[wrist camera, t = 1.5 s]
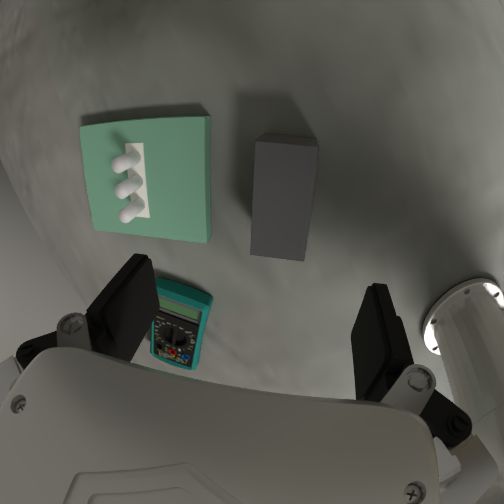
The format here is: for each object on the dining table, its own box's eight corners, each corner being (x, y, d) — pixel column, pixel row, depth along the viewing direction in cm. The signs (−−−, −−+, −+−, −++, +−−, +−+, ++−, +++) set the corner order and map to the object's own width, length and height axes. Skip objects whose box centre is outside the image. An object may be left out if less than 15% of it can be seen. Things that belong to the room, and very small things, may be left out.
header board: (210, 115, 23) (191, 120, 19) (211, 236, 29) (196, 259, 25) (88, 124, 25) (60, 132, 21) (101, 224, 31) (79, 242, 27)
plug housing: (316, 138, 23) (318, 147, 18) (304, 234, 27) (303, 261, 23) (264, 133, 23) (255, 141, 19) (259, 229, 28) (250, 254, 24)
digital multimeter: (155, 345, 42) (148, 358, 39) (158, 272, 34) (148, 287, 31) (199, 361, 42) (193, 376, 39) (215, 292, 34) (208, 308, 31)
